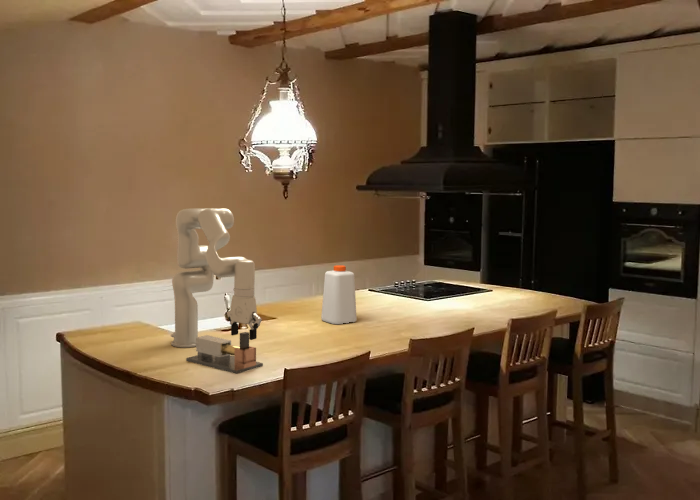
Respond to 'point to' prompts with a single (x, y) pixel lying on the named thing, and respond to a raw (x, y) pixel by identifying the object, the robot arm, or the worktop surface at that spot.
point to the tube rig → (223, 355)
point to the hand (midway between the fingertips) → (243, 337)
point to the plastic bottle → (339, 296)
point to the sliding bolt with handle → (231, 349)
